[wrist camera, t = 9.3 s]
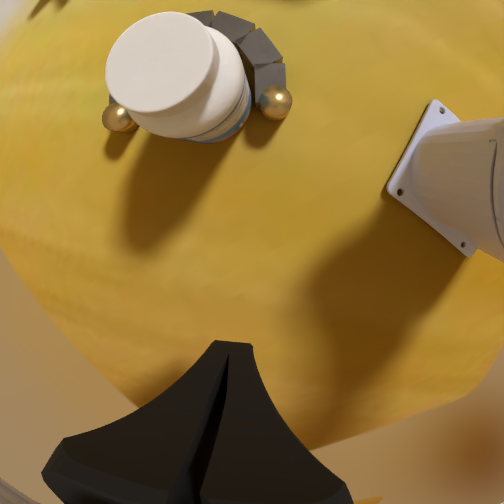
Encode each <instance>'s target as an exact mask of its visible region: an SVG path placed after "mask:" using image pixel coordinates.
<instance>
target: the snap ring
mask: <svg viewBox="0 0 504 504" xmlns="http://www.w3.org/2000/svg"><path fill="white" fill-rule="evenodd" d="M187 15H190V16H192V17H194V18H196V19H197V20H199V21H200V22H201V23H202V24H203V25H204V26H207V27H210V28H213V29H215V30H217V31H219V32H220V33H222V34H223V35H225V36H226V37H227V38H228V39H229V40H230V41H231V42H232V43H233V45H234V46H235V48H236V49H237V51H238V53H240V54H241V56H242V57H243V58H244V60H245V61H246V62H247V64H248V65H249V67H250V68H251V69H252V71H253V72H254V74H255V103H256V107H257V108H261V111H262V114H263V115H264V116H265V117H266V118H267V119H269V120H272V121H279V120H282V119H284V118H285V117H286V116H287V115H288V113H289V110H290V108H291V105H292V96H291V94H290V92H289V91H288V90H287V89H286V75H285V63H282V59H283V57H282V56H281V54H280V53H279V52H278V50H277V49H276V48H275V46H274V45H273V44H272V42H271V41H270V40H269V38H268V37H267V36H266V34H265V33H264V32H263V31H262V29H261V28H258V29H255V24H254V23H251V22H249V21H246V20H244V19H241V18H238V17H235V16H233V15H230V14H227V13H224V12H221V11H219V12H218V13H217V14H216V16H215V15H214V13H213V10H210V11H202V12H195V13H188V14H187ZM102 122H103V125H104V127H105V128H106V129H108V130H113V131H119V132H126V133H129V132H132V131H134V130H135V129H136V128H137V127H138V126H139V125H138V124H137V123H136V122H135V121H134V120H133V119H132V118H131V116H130V115H129V113H128V112H127V110H126V109H125V108H123V107H122V106H121V105H119V104H118V103H117V102H116V101H115V100H114V99H113V97H112V96H111V95H110V96H109V106H108V107H107V108H106V109H105V110H104V112H103V115H102Z"/></svg>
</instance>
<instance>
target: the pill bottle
mask: <svg viewBox="0 0 504 504" xmlns="http://www.w3.org/2000/svg"><path fill="white" fill-rule="evenodd" d="M105 80H106V85H107V88H108V91H109V93H110V95H111V96H112V97H113V99H114V100H115V101H116V102H117V103H118V104H119V105H121V106H122V107H123V108H125V109H126V110H127V112H128V113H129V115H130V116H131V118H132V119H133V120H134V121H135V122H136V123H137V124H138V125H139V126H140V127H142V128H143V129H145V130H147V131H149V132H151V133H153V134H156V135H159V136H163V137H168V138H174V139H180V140H186V141H191V142H196V143H215V142H219V141H222V140H225V139H227V138H229V137H231V136H232V135H234V134H235V133H236V132H237V131H239V130H240V128H241V127H242V126H243V125H244V123H245V122H246V120H247V118H248V116H249V113H250V110H251V105H252V98H251V91H250V88H249V84H248V81H247V78H246V74H245V71H244V67H243V64H242V60H241V58H240V55H239V53H238V51H237V49H236V48H235V46H234V45H233V43H232V42H231V41H230V40H229V39H228V38H227V37H226V36H225V35H223V34H222V33H220V32H219V31H217V30H215V29H213V28H210V27H207V26H204V25H203V24H202V23H201V22H200V21H199V20H197V19H196V18H194V17H192V16H190V15H187V14H184V13H178V12H162V13H157V14H153V15H150V16H147V17H145V18H143V19H141V20H139V21H137V22H136V23H134V24H133V25H131V26H130V27H129V28H128V29H127V30H125V31H124V32H123V33H122V35H121V36H120V37H119V38H118V39H117V41H116V42H115V44H114V45H113V47H112V49H111V51H110V53H109V56H108V58H107V62H106V67H105Z"/></svg>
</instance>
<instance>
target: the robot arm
mask: <svg viewBox="0 0 504 504" xmlns="http://www.w3.org/2000/svg"><path fill="white" fill-rule="evenodd" d="M439 108H441V110H442V114H441V113H440V111H439ZM398 189H401V191H402V193H401V195H399V196H398V194H397V190H398ZM386 190H387V192H388V193H389V194H390V195H391V196H393V197H394V198H395V199H397V200H398V201H399V202H401V203H402V204H403V205H405V206H406V207H407V208H409V209H410V210H411V211H413V212H414V213H415V214H416V215H418V216H419V217H420V218H421V219H423V220H424V221H425V222H426V223H428V224H429V225H430V226H431V227H433V228H434V229H435V230H436V231H437V232H439V233H440V234H441V235H442V236H443V237H444V238H446V239H447V240H448V241H449V242H450V243H451V244H453V245H454V246H455V247H456V248H457V249H458V250H459V251H461V252H462V253H463V254H464V255H465V256H467V257H471V256H472V255H473V254H474V252H475V250H476V248H478V249H480V250H482V251H484V252H485V253H487V254H489V255H491V256H493V257H495V258H497V259H498V260H500V261H502V262H504V117H498V118H489V119H480V120H472V121H465V122H461V121H460V120H459V119H458V118H457V117H456V116H455V115H454V114H453V113H452V112H451V111H450V110H449V109H447V108H446V107H445V106H444V105H443V104H442V103H441V102H440V101H438V100H435V99H434V100H432V101H430V102H429V105H428V107H427V109H426V111H425V113H424V115H423V117H422V119H421V121H420V123H419V125H418V127H417V129H416V131H415V133H414V135H413V137H412V139H411V141H410V143H409V145H408V147H407V148H406V150H405V152H404V154H403V156H402V158H401V160H400V162H399V163H398V165H397V167H396V169H395V171H394V173H393V174H392V176H391V178H390V180H389V182H388V183H387V186H386ZM462 242H463V245H462V246H461V243H462ZM41 474H42V477H43V480H44V481H45V483H46V484H47V485H48V487H49V488H50V489H51V490H52V491H53V492H54V493H55V494H56V495H57V496H58V498H60V500H61V501H62V502H63V503H64V504H354V503H353V500H352V498H351V495H350V492H349V490H348V488H347V486H346V484H345V482H344V481H342V480H341V479H340V478H338V477H337V476H336V475H335V474H333V473H332V472H331V471H330V470H329V469H327V468H326V467H325V466H324V465H323V464H322V463H321V462H319V461H318V460H317V459H316V458H315V457H314V456H313V455H312V454H311V453H310V452H309V451H308V450H307V448H306V447H305V446H304V445H303V444H302V443H301V442H300V441H299V439H298V438H297V437H296V436H295V435H294V434H293V432H292V431H291V430H290V428H289V427H288V426H287V424H286V423H285V422H284V420H283V419H282V417H281V416H280V414H279V412H278V411H277V409H276V408H275V406H274V404H273V402H272V401H271V399H270V397H269V395H268V393H267V391H266V389H265V386H264V384H263V382H262V379H261V377H260V374H259V372H258V369H257V366H256V362H255V359H254V354H253V346H252V345H251V344H250V343H240V342H229V341H219V340H215V341H213V342H212V343H211V345H210V346H209V347H208V349H207V350H206V351H205V352H204V354H203V355H202V356H201V357H200V358H199V359H198V360H197V361H196V363H195V364H194V365H193V366H192V367H191V368H190V369H189V370H188V371H187V372H186V373H185V374H184V375H183V376H182V377H181V378H179V379H178V380H177V381H176V382H175V383H174V384H173V385H172V386H170V387H169V388H168V389H167V390H166V391H164V392H163V393H162V394H160V395H159V396H158V397H156V398H155V399H153V400H152V401H151V402H149V403H147V404H146V405H144V406H143V407H141V408H139V409H138V410H136V411H134V412H133V413H131V414H129V415H127V416H126V417H123V418H121V419H119V420H117V421H115V422H112V423H110V424H108V425H105V426H103V427H100V428H97V429H95V430H91V431H88V432H85V433H82V434H78V435H74V436H71V437H67V438H63V440H62V441H61V442H60V444H59V445H58V446H57V448H56V449H55V451H54V452H53V454H52V455H51V457H50V459H49V460H48V462H47V464H46V466H45V467H44V469H43V471H42V472H41ZM0 504H39V503H38V502H36V501H34V500H33V499H31V498H29V497H28V496H26V495H25V494H23V493H22V492H20V491H18V490H17V489H15V488H14V487H13V486H11V485H10V484H8V483H7V482H5V481H4V480H3V479H1V478H0ZM499 504H504V501H502V502H501V503H499Z"/></svg>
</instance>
